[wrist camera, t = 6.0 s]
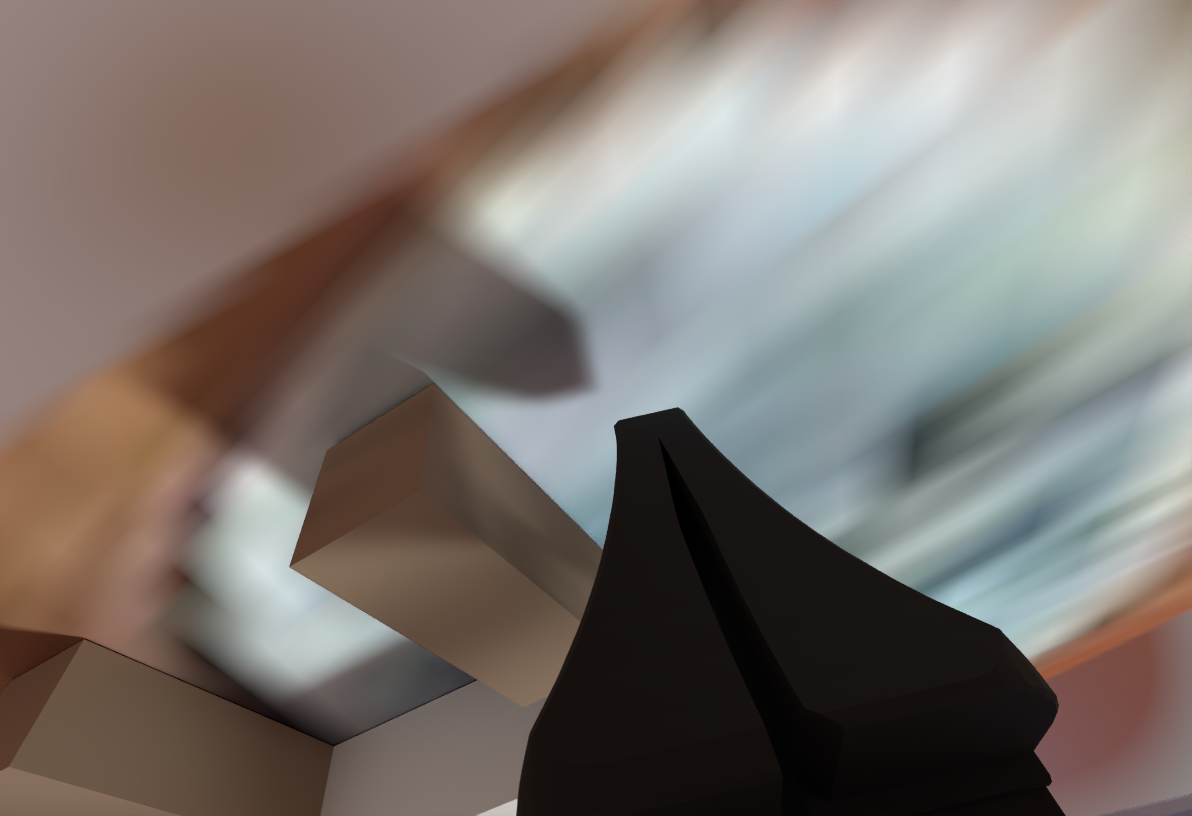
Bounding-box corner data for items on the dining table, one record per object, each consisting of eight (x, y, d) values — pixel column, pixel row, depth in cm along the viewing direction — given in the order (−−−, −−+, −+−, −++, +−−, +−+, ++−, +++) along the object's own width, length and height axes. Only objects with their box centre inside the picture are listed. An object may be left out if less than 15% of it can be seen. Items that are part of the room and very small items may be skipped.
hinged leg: (650, 596, 18) (676, 699, 16) (568, 636, 19) (580, 741, 16) (433, 382, 13) (420, 490, 10) (326, 450, 13) (288, 567, 11)
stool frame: (283, 803, 23) (251, 936, 20) (-25, 701, 17) (-143, 872, 14) (680, 626, 20) (717, 753, 17) (481, 412, 13) (479, 553, 10)
